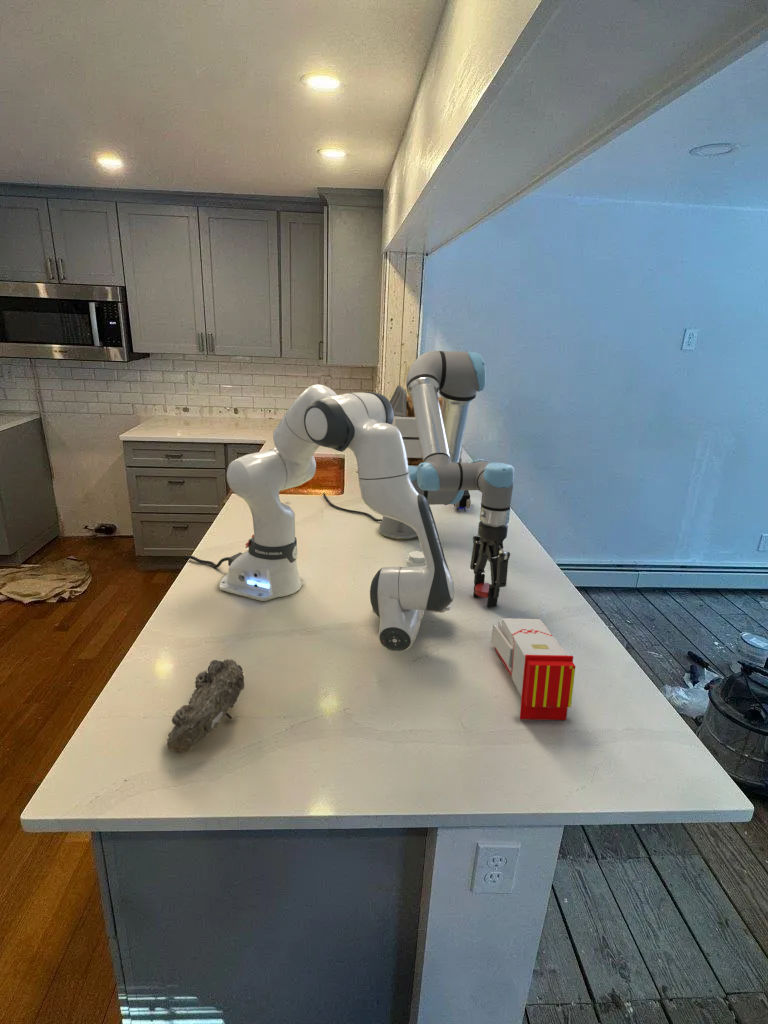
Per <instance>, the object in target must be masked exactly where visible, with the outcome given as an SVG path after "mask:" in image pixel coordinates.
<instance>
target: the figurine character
mask: <svg viewBox="0 0 768 1024" xmlns="http://www.w3.org/2000/svg"><path fill="white" fill-rule="evenodd" d="M471 501H472V500H471V494H470V490H464V494H463V496H462V498H461V500H460V501H459V502H458V503H456V504H453V507H454V508H456V511H457V512H460V510H463V511H464V513H466V512H467V509H470V508H471V505H472V504H471ZM466 508H467V509H466Z"/></svg>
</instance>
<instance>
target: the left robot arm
mask: <svg viewBox="0 0 768 1024" xmlns="http://www.w3.org/2000/svg"><path fill="white" fill-rule="evenodd" d="M389 401H390V400H389V399H388V398H387V397H386V396H385V395H383V394H381V393H379V392H374V391H364V392H360V391H359V392H346V393H341V394H337V393H336V392H335V391H334V390H333V389H332V388H330V387H329V386H326V385H325V384H311V385H310V386H308V387H307V388H306V389H304V391H303V392H301V393H300V394H299V395H298V396H297V397H296V398H295V400H294V401H293V402H292V403H291V405H290V406H289V407H288V409H287V410H286V411H285V413H284V414H283V416H282V417H281V419H280V421H279V422H278V424H277V425H276V426H275V428H274V430H273V432H272V439H273V440H272V441H273V445H274V447H273V448H271V449H268V450H263V451H257V452H253V453H247V454H245V455H242V456H240V457H238V458H236V459H234V460H232V461H231V462H230V463H229V464H228V467H227V470H226V482H227V484H228V487H229V489H230V490H231V491H232V492H233V493H234V494H235V495H236V496H238V497H239V498H241V499H242V500H243V501H244V502H245V503H246V504H247V505H248V507H249V510H250V513H251V515H252V525H253V526H252V527H253V534H252V535H251V538H249V539H248V540H247V542H246V543H245V549H247V548H248V549H247V550H246V551H244V552H237V553H236V554H233V555H231V556H227V557H223V558H221V559H220V560H219V561H218V562H217V564H216V563H214V562H213V561H210V560H203V559H200V558H198V557H196V556H194V555H187V556H186V557H185V558H184V560H185V561H187V560H190V559H191V560H193V561H195V562H197V563H200V564H205V565H209V566H212V567H213V568H214V569H215V568H216V569H218V568H219V567H221V565H223V562H228V563H227V564H228V565H227V566H229V567H228V570H227V573H226V574H225V575H224V576H223V577H222V578H221V579H220V581H219V590H220V591H223V592H227V593H230V594H233V595H234V594H235V595H238V596H241V597H246V598H249V599H253V600H256V601H261V602H267V601H270V600H272V599H277V598H281V597H287V596H290V595H293V594H295V593H297V592H298V591H299V590H300V589H301V587H302V584H303V583H302V580H301V577H300V573H299V569H298V562H297V558H298V540H297V537H296V514H295V511H294V510H293V509H292V508H291V507H290V506H289V505H288V504H286V503H283V502H281V498H280V492H281V491H285V490H289V489H293V488H296V487H299V486H302V485H304V484H305V483H307V482H308V481H311V480H312V479H313V478H314V476H315V474H316V472H317V462H316V459H315V456H314V455H315V453H316V452H317V450H318V449H319V448H320V447H324V448H328V449H331V450H335V451H337V452H340V453H342V452H344V451H346V450H347V449H349V450H351V452H352V453H353V454H354V457H355V459H356V466H357V476H358V484H359V485H358V486H359V490H360V495H361V498H362V500H363V502H364V504H365V505H366V506H367V507H368V508H369V509H370V510H371V511H373V512H374V513H376V514H377V515H380V516H381V517H383V516H385V517H388V518H391V519H394V520H397V521H400V522H403V523H405V524H407V525H409V526H410V527H412V528H413V529H414V530H415V531H416V533H417V535H418V540H419V544H420V547H421V552H423V555H424V558H425V562H426V566H421V567H406V566H386V567H381V568H380V569H379V570H377V572H376V573H375V575H374V576H373V578H372V580H371V584H370V587H369V599H370V605H371V607H372V613H374V614H375V615H376V616H377V618H379V626H378V641H379V643H380V644H381V645H382V646H383V648H386V649H387V650H389V651H393V652H403V651H406V650H408V649H409V648H410V647H411V646H412V645H413V644H414V642H415V641H416V639H417V636H418V634H419V631H420V628H421V622H422V620H423V618H424V614H425V612H426V611H427V612H432V613H445V612H446V611H448V612H449V611H450V610H451V607H452V604H451V603H453V601H454V596H455V584H454V583H455V582H454V580H453V577H452V574H451V572H450V569H449V566H448V563H447V560H446V557H445V553H444V550H443V546H442V543H441V537H440V535H439V532H438V528H437V524H436V521H435V517H434V514H433V512H432V508H431V505H429V503H428V501H427V499H426V498H425V496H422V495H420V494H418V492H417V491H416V490H415V488H414V486H413V485H412V482H411V479H410V475H409V467H408V460H407V455H406V450H405V446H404V442H403V439H402V436H401V433H400V431H399V429H398V428H397V427H395V426H393V425H392V423H393V417H394V414H393V408H392V405H391V403H390V402H389Z"/></svg>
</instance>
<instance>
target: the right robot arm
mask: <svg viewBox="0 0 768 1024" xmlns="http://www.w3.org/2000/svg"><path fill="white" fill-rule="evenodd" d="M486 382H487V371H486V363H485V361H484V358H483V356H482V355H481V354H480V353H478V352H475V351H467V350H466V351H458V350H457V351H454V350H447V351H446V350H429V351H426V352H423V353H422V354H421V355H419V356H418V357H417V358H416V359H415V360H414V361H413V362H412V364H411V366H410V367H409V369H408V372H407V375H406V381H405V385H406V386H405V387H406V393H407V396H409V397H411V398H412V402H413V408H414V413H415V419H416V425H417V430H418V436H419V442H420V447H421V453H422V459H423V463H420V464H419V465H418V466H408V467H409V475H410V479H411V482H412V485H413V486H414V488H415V490H416V491H417V492H418V494H420V495H422V496H425V498H426V499H427V501H428V503H429V505H430V506H433V505H434V506H435V505H444V506H448V505H454V504H456V503H458V502H459V501H460V500H461V498H462V496H463V494H464V490H468V491H479V492H480V493H481V501H480V513H479V522H478V529H477V535H473V537H472V543H473V545H472V552H471V559H470V564H469V565H470V566H469V567H470V570H473V574H474V578H473V594H472V596H473V597H474V598H479V597H480V596H478V595H476V594H475V586H476V584H478V583H485V580H486V579H485V578H486V574H485V573H486V571H485V568H486V566H487V563H488V562H489V568H490V581H491V583H490V584H492V585H489V592H488V598H487V601H486V608H487V609H491V608H496V607H498V598H499V597H500V590H501V588H506V587H507V581H508V579H507V578H508V569H509V560H510V557H511V553H510V552H511V551H506V550H505V549H504V541H505V540H506V539H507V537H508V528H509V525H508V524H509V522H510V515H511V504H512V497H513V489H514V485H515V484H514V483H515V468H514V467H513V466H512V465H511V464H507V463H504V462H490V461H488V460H485V459H482V458H477V459H474V460H472V461H471V462H461V463H459V458H460V453H461V447H462V448H463V443H462V442H464V437H465V436H464V435H465V430H466V425H467V420H468V414H469V409H470V403H471V402H473V401H474V400H475V399H476V397H477V393H478V392H482V391H484V389H485V387H486V384H487V383H486ZM438 397H442V398H443V402H442V408H441V410H440V405H439V400H438ZM461 454H462V453H461ZM322 495H323V497H324V499H325V501H326V502H327V503H328V504H329V505H330V506H331V507H332V508H335V509H338V510H340V511H344V512H348V513H353V514H361V515H365V516H367V517H368V518H370V519H371V520H373V521H375V522H379V527H378V533H379V534H380V535H381V536H382V537H385V538H387V539H389V540H395V541H410V540H415V539H419V537H418V535H417V533H416V531H415V530H414V529H413V528H412V527H410V526H409V525H407V524H405V523H403V522H400V521H397V520H394V519H391V518H388V517H385V516H382V518H376V517H374V516H373V515H372V514H370V513H368V512H365V511H359V510H353V509H348V508H345V507H340V506H337V505H335V504H334V503H332V502H331V501H330V500H329V499H328V497H327V495H326V493H325V492H322Z"/></svg>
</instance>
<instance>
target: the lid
mask: <svg viewBox="0 0 768 1024" xmlns="http://www.w3.org/2000/svg"><path fill="white" fill-rule="evenodd" d="M489 585H492V583H490V582H484V583H478V584H476V586H475V594H476V595H478V596H479V597H481V598H482V599H488V592H489Z"/></svg>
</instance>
